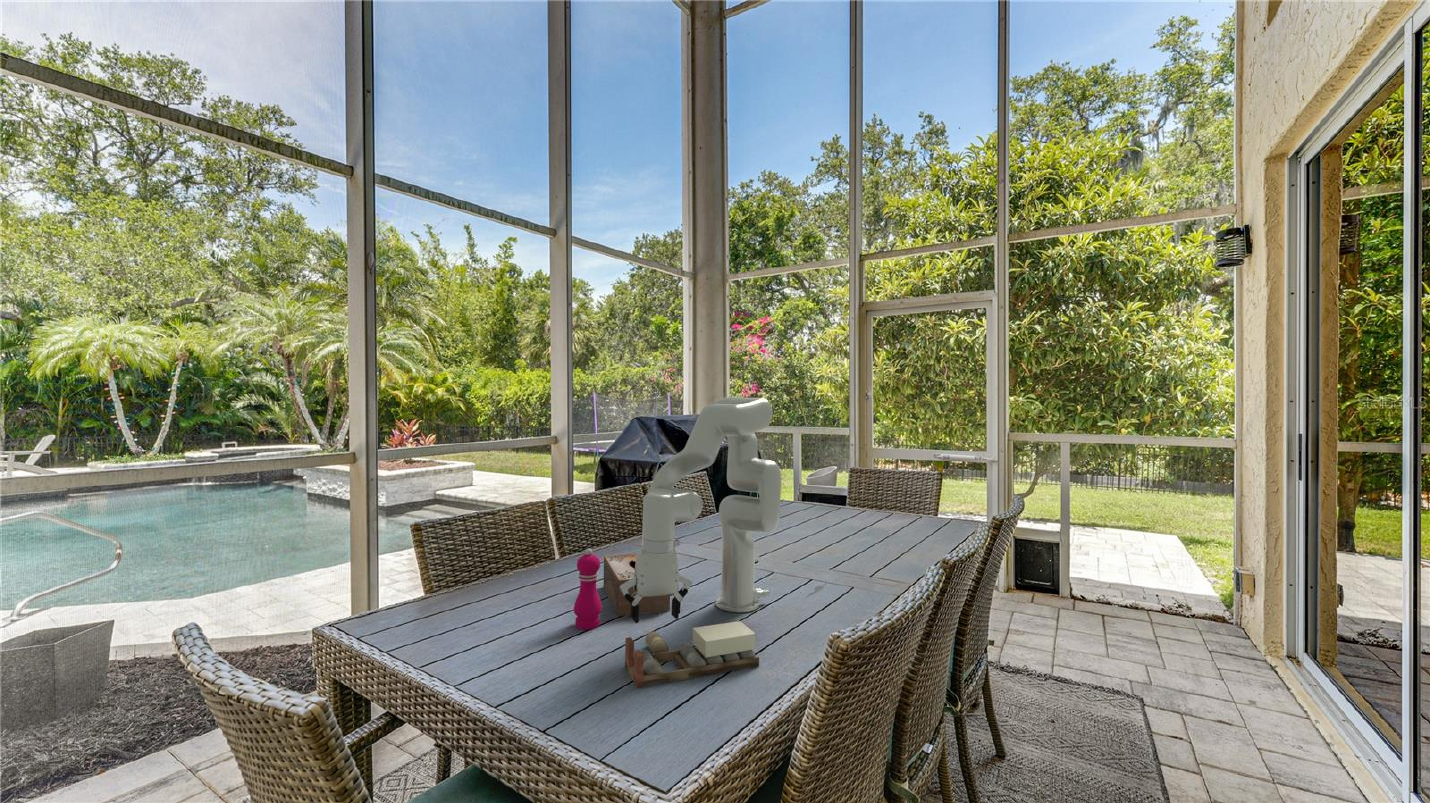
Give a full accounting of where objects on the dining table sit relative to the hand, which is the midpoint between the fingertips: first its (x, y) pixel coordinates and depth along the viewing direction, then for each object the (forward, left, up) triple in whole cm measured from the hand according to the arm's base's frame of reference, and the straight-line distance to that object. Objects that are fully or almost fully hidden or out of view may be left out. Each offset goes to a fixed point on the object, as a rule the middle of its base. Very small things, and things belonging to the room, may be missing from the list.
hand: (655, 619), depth 140 cm
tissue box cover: (-6, -38, -8) cm, 39 cm away
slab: (-13, +10, -4) cm, 17 cm away
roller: (-1, 0, -6) cm, 6 cm away
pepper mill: (+11, -22, -8) cm, 26 cm away
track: (-6, +10, -8) cm, 14 cm away
